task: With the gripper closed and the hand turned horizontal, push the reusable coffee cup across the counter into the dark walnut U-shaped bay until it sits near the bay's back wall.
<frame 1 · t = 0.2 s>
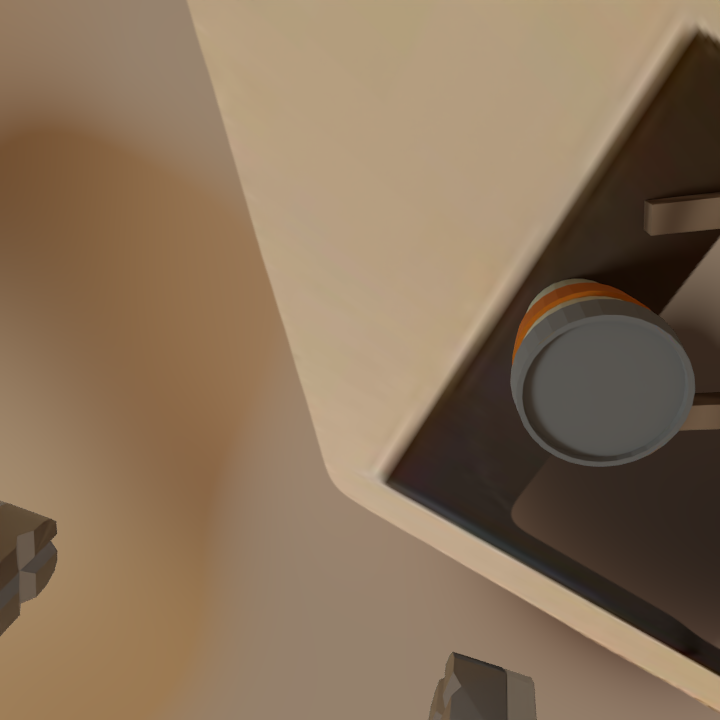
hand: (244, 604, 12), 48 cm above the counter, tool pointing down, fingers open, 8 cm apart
reusable coffee cup: (572, 324, 57), on the counter
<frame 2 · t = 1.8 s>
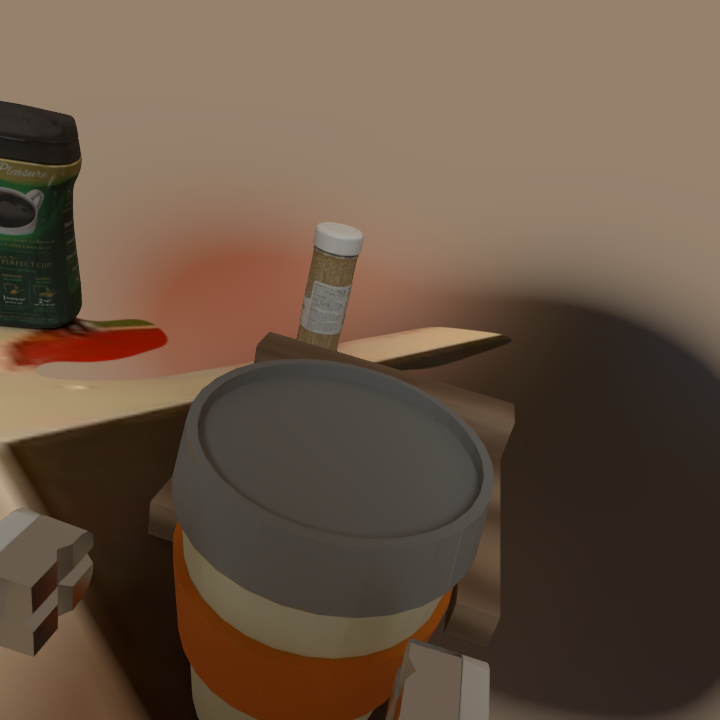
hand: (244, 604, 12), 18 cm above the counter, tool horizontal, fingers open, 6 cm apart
spice jar: (314, 356, 62), on the counter
walnut bay: (343, 505, 43), on the counter
reusable coffee cup: (283, 681, 30), on the counter
coffee jar: (24, 314, 57), on the counter
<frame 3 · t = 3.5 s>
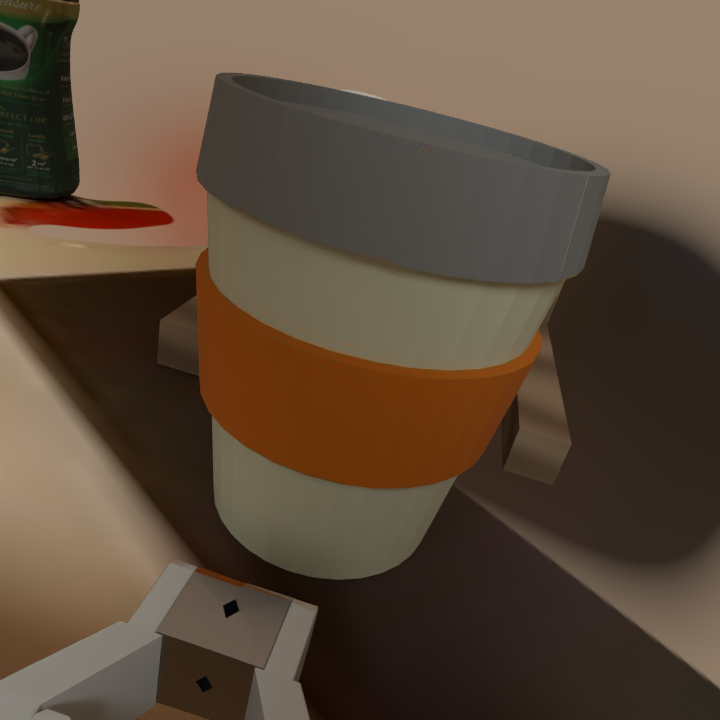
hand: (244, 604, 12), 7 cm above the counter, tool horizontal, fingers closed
walnut bay: (376, 358, 38), on the counter
reusable coffee cup: (321, 498, 25), on the counter
coffee jar: (16, 189, 52), on the counter
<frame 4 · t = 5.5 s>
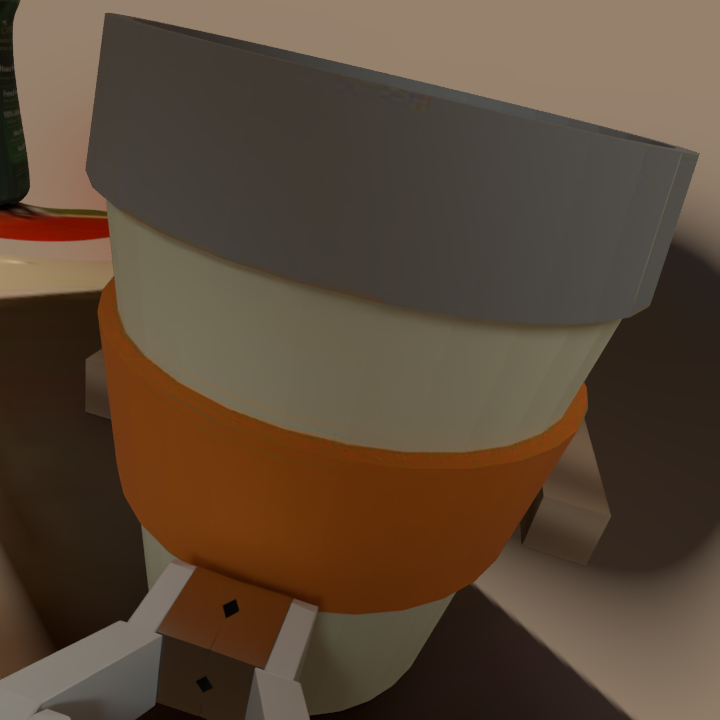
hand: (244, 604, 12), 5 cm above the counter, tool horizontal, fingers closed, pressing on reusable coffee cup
walnut bay: (364, 395, 31), on the counter
reusable coffee cup: (294, 584, 20), on the counter, touching gripper
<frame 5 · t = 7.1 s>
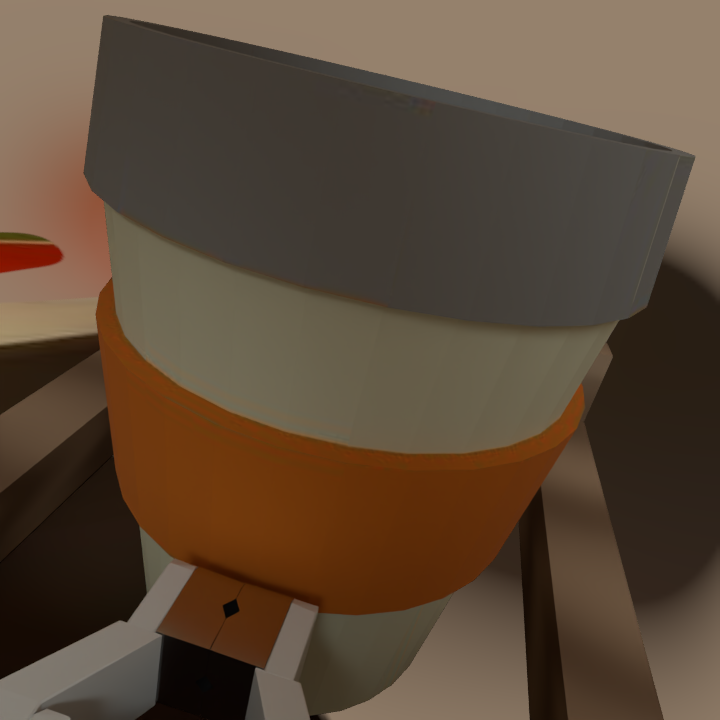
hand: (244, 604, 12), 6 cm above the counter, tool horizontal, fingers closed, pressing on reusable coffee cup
walnut bay: (318, 499, 23), on the counter
reusable coffee cup: (292, 585, 20), on the counter, touching gripper
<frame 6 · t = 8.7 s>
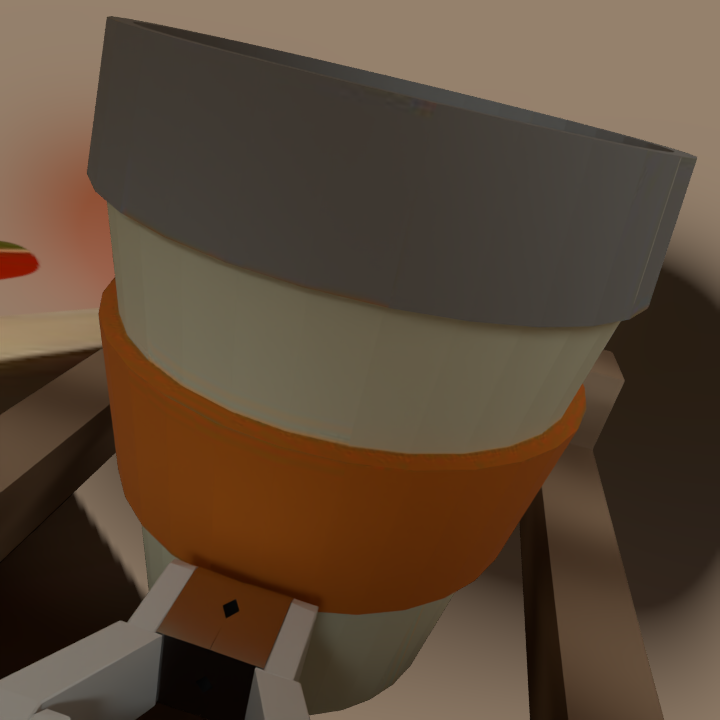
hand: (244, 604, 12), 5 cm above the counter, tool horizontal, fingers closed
walnut bay: (300, 541, 21), on the counter
reusable coffee cup: (293, 584, 20), on the counter
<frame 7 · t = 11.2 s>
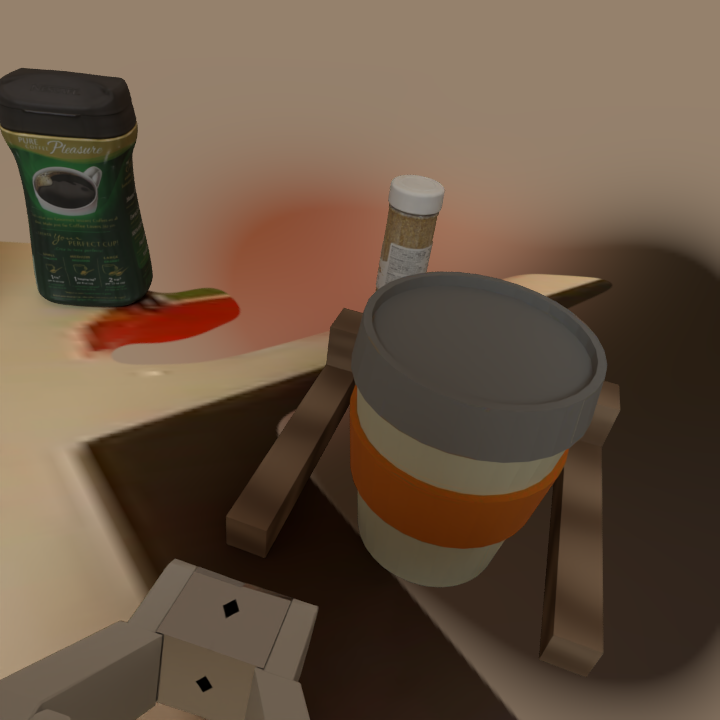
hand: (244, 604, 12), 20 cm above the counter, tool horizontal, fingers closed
spice jar: (393, 320, 58), on the counter
walnut bay: (427, 503, 40), on the counter
reusable coffee cup: (426, 526, 39), on the counter
coffee jar: (98, 290, 56), on the counter
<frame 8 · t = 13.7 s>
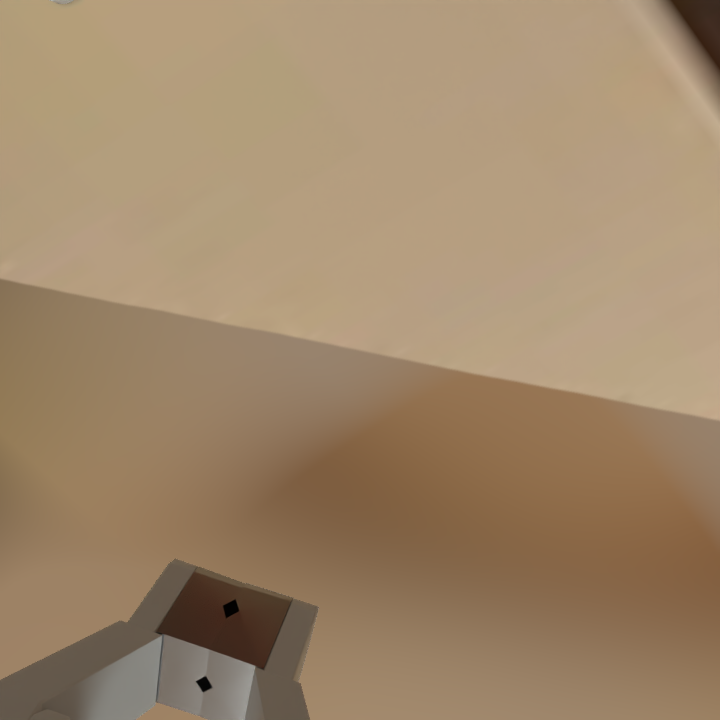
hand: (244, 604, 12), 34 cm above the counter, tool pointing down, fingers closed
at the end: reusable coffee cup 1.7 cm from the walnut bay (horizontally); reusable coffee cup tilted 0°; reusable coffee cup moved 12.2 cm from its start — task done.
